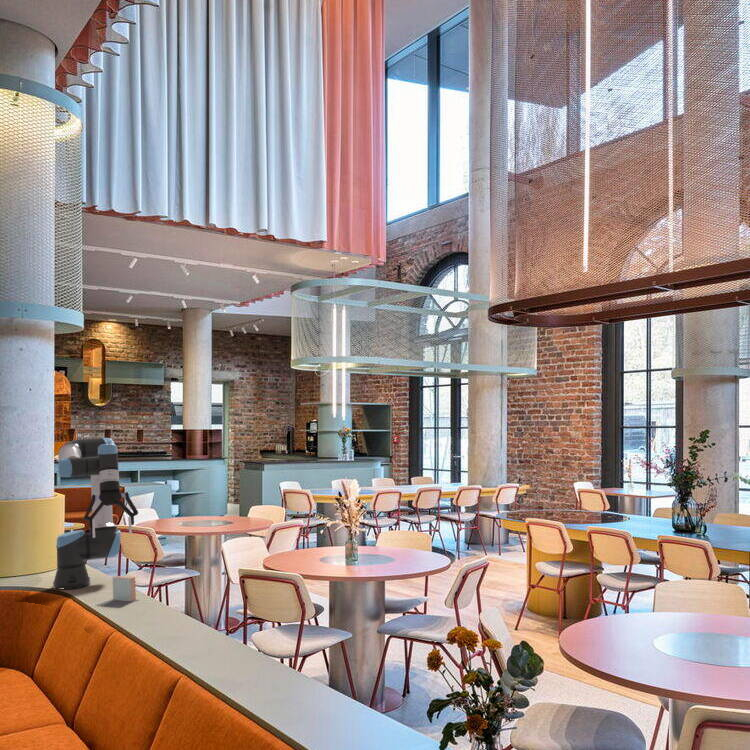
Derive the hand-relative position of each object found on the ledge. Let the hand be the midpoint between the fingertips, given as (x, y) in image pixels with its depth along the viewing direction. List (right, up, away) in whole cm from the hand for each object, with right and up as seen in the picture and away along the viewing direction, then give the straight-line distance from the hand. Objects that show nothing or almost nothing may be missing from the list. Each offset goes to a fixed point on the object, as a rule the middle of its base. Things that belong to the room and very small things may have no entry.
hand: (112, 535), depth 309 cm
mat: (+1, -28, +3) cm, 28 cm away
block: (+3, -27, +7) cm, 28 cm away
